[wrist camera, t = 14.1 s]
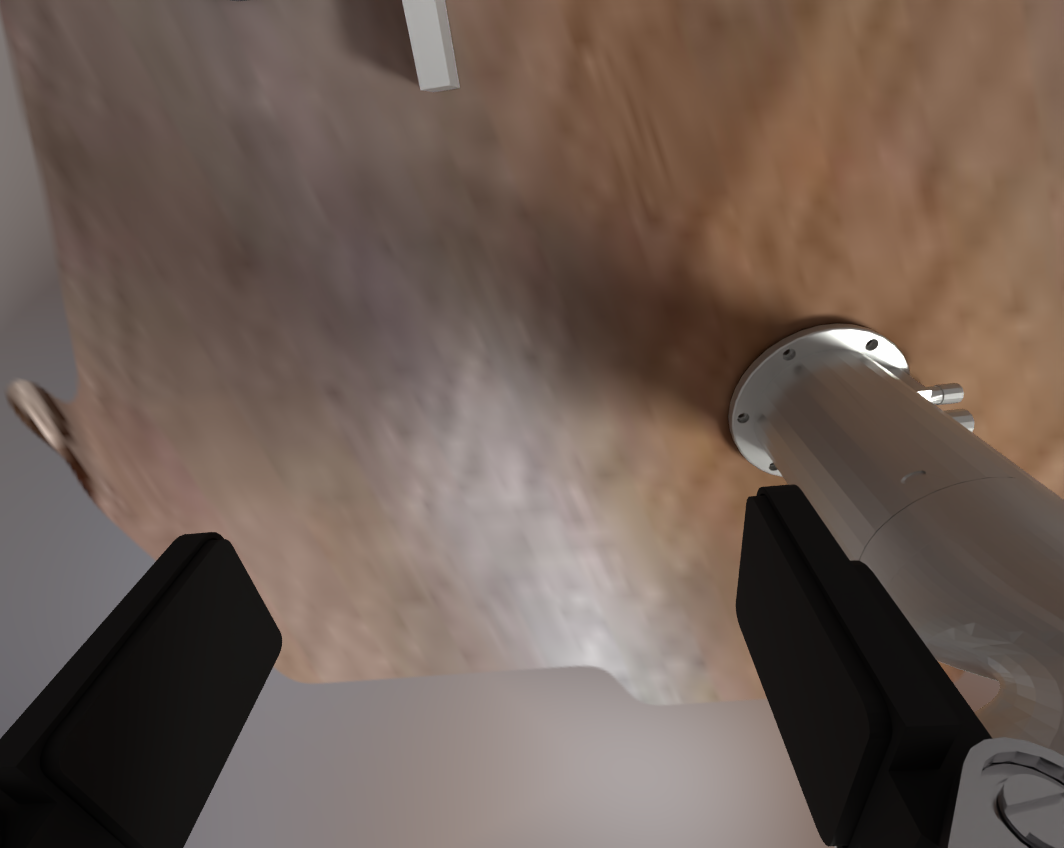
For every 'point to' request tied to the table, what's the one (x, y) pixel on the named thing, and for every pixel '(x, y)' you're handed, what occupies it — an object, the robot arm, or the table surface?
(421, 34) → the low wall
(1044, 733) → the robot arm
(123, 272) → the table surface
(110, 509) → the table surface
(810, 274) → the table surface
